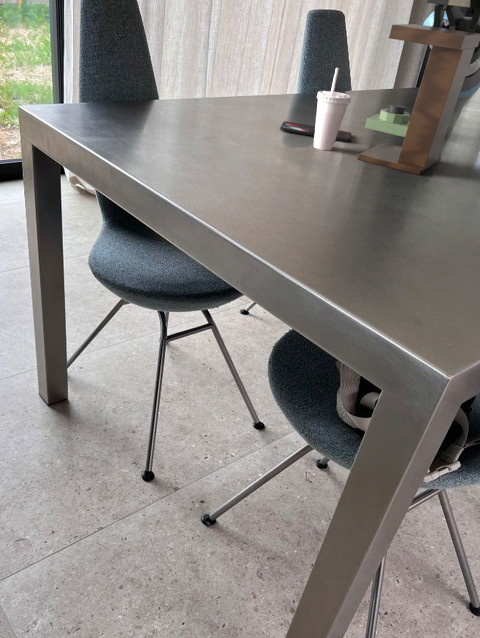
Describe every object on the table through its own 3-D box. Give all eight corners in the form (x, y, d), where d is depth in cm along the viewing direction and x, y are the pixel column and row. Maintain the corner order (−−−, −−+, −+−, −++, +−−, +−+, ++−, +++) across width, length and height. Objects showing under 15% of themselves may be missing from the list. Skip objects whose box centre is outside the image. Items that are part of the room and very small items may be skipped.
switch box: (416, 132, 133) (421, 114, 131) (406, 137, 128) (412, 118, 125) (375, 123, 137) (380, 105, 135) (364, 128, 132) (369, 109, 129)
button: (405, 114, 131) (407, 106, 130) (400, 116, 128) (402, 108, 127) (390, 111, 132) (392, 103, 131) (385, 113, 130) (387, 104, 129)
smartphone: (351, 139, 117) (279, 127, 119) (350, 142, 118) (279, 130, 119) (351, 132, 123) (283, 120, 125) (350, 135, 123) (283, 123, 125)
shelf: (438, 161, 113) (482, 34, 100) (419, 175, 103) (464, 35, 90) (380, 147, 117) (415, 24, 104) (357, 159, 107) (392, 24, 95)
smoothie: (315, 141, 116) (331, 64, 107) (344, 149, 113) (363, 70, 105) (301, 146, 111) (317, 66, 103) (330, 154, 108) (349, 72, 100)
